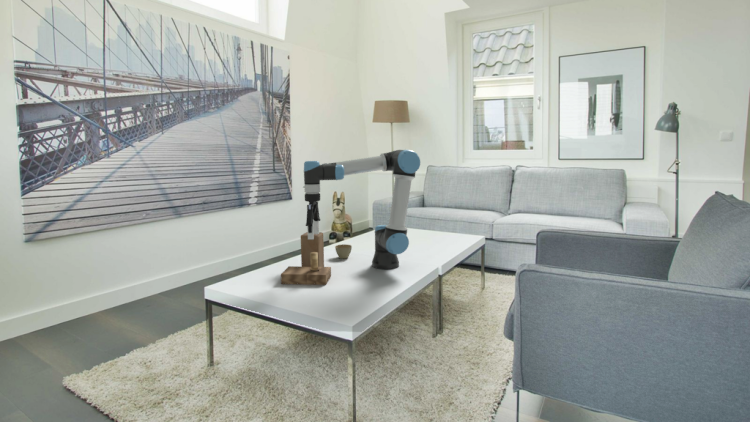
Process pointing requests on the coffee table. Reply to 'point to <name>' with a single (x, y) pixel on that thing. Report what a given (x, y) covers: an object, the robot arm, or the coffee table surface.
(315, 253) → the peg
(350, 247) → the flower pot
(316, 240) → the block
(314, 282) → the board
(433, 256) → the coffee table surface
